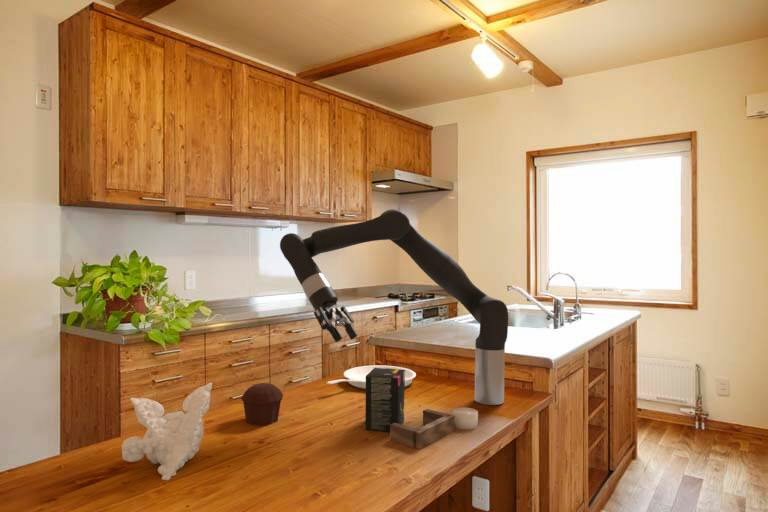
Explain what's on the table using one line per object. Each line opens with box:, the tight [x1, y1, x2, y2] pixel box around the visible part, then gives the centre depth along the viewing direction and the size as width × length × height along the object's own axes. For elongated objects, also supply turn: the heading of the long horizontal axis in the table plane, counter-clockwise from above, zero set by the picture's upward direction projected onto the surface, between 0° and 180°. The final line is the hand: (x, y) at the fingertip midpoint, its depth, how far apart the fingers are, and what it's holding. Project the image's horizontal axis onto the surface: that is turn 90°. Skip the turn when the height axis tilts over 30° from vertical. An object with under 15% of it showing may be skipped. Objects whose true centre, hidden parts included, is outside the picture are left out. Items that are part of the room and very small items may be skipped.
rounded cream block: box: [451, 406, 479, 431], centre depth 144 cm, size 7×7×4 cm
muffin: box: [240, 382, 284, 426], centre depth 146 cm, size 12×11×10 cm
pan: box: [326, 364, 417, 390], centre depth 184 cm, size 26×39×5 cm
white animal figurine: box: [121, 382, 213, 481], centre depth 117 cm, size 19×20×20 cm
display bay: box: [389, 408, 456, 450], centre depth 135 cm, size 17×9×4 cm, turn 142°
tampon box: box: [364, 368, 406, 433], centre depth 143 cm, size 11×9×15 cm
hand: (347, 339), depth 147 cm, fingers open, 8 cm apart
